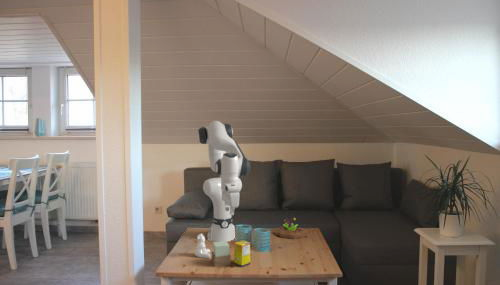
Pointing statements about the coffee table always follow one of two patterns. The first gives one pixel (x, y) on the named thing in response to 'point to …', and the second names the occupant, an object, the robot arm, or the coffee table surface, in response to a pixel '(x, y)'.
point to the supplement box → (242, 253)
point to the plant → (290, 230)
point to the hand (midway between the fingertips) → (229, 212)
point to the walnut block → (221, 260)
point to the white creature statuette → (201, 248)
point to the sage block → (221, 248)
